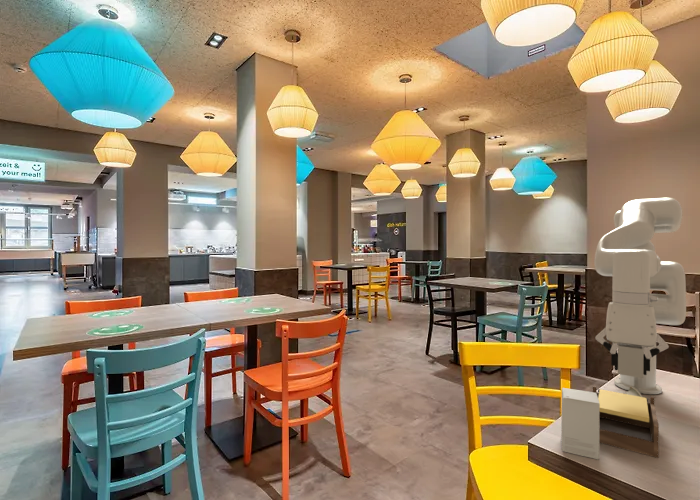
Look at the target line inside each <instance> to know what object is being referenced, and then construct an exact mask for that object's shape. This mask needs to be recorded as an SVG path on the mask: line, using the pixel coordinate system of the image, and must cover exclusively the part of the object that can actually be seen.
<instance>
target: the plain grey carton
mask: <svg viewBox="0 0 700 500" xmlns="http://www.w3.org/2000/svg"><path fill="white" fill-rule="evenodd" d="M617 353H618V370H617V375H620V374H621V375H627V376H633V377H639V378H643V359H644V349H643V348H642V346H636V345H628V344H620V343H619V345H618V348H617Z"/></svg>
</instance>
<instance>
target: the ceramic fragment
mask: <svg viewBox="0 0 700 500" xmlns="http://www.w3.org/2000/svg"><path fill="white" fill-rule="evenodd" d="M625 394H628V395H633V396H639V397H644V396H643V395H642V393H639V391H637V390H636V389H635V388H633V387H630V389H629V391H628V390H627V391H626V392H625Z"/></svg>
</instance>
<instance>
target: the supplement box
mask: <svg viewBox="0 0 700 500" xmlns="http://www.w3.org/2000/svg"><path fill="white" fill-rule="evenodd" d="M599 408H600V403H599V400H598V396H597V393H594V392H593V391H586V390H581V389H574V388H567V387H566V388H565V387H562V388H561V424H560V425H561V427H560V428H561V434H560V435H561V436H560V437H561V439H560V440H561V441H560V442H561V450H562V452H565V453H569V454H573V455H576V456H582V457H585V458H590V459H594V460H599V459H600V443H599V429H600V417H599Z"/></svg>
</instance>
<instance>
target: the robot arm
mask: <svg viewBox="0 0 700 500" xmlns="http://www.w3.org/2000/svg"><path fill="white" fill-rule="evenodd" d="M681 205H682V204H681V203H680V201H679V200H677V199H676V198H674V197H655V198H654V197H653V198H639V199H632V200H629V201H628V202H626V203H625V204H624V205H622V207H621V210H618V211H616V212H615V214H614V215H613V224H614V228H615V229H613V230H611V231H610V232H608V233H606V234H604V235H603V236H602V237H601V238H600V240H598V243H597V245H596V249H595V254H594V261H593V263H594V268H595V271H596V273H597V274H599V275H601V276H603V277H612V284H611V285H612V289H611V290H612V291H611V292H612V296H611V297H612V301H610V302H608V305H607V310H606V320H605V321H606V322H605V327H604V328H603V329H602V330H601V331H600V332H599V333H597V335H595V340H596V341H597V342H598V343H600V344H601V345H603V347H605V349H607V351H608V352H609V353H610V354H611V355H610V356H611V357H610V358H611V359H610V362H611V366H613V367H614V371H618V345H619V343H620V344H628V345H636V346H642V348H643V349H644V359H643V378H639V377H633V376H627V375H621V374H619V377H617V378H615V379H614V385H615V386H616V387H619V388H621V389H623V390H625V391H627V392H628V391H629V389H630V387H633V388H635V389H636V390H637V391H639V393H640V394H641V395H642V394H643V395H660V394H662V392H663V388H662V386H661V385H659V384H658V383H657V355H658V354H660V353H661V352H664V351H665V350H667V349H669V347H670V346H669V344H668V343H667V342H666V341H665V340H664V339H663V338H662V337H661V336H660V335H659V333H657V325H658V324H660V325H669V326H680V325H682V324H684V322H685V320H686V317H687V287H686V286H687V285H686V273H685V269H684V266H683V265H682V264H681V263H679V262H677V261H671V260H670V261H669V260H667V261H666V260H665V261H664V260H661V257H660V256H659V255H658V254H657V252H656V246H655V245H654V243H653V242H652V241H651V240H652V239H653V238H654V236H655V234H657V233H658V234H659V233H662V234H663V233H675V232H677V231H678V230H679V229H680V228H681V225H682V220H683V208H682V206H681ZM651 290H653V291H664V292H666V293H667V294H661V293H659V294H658V293H652V292H651ZM650 292H651V293H650ZM604 337H605V338H606V339H605V338H604ZM657 344H658V345H657Z"/></svg>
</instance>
